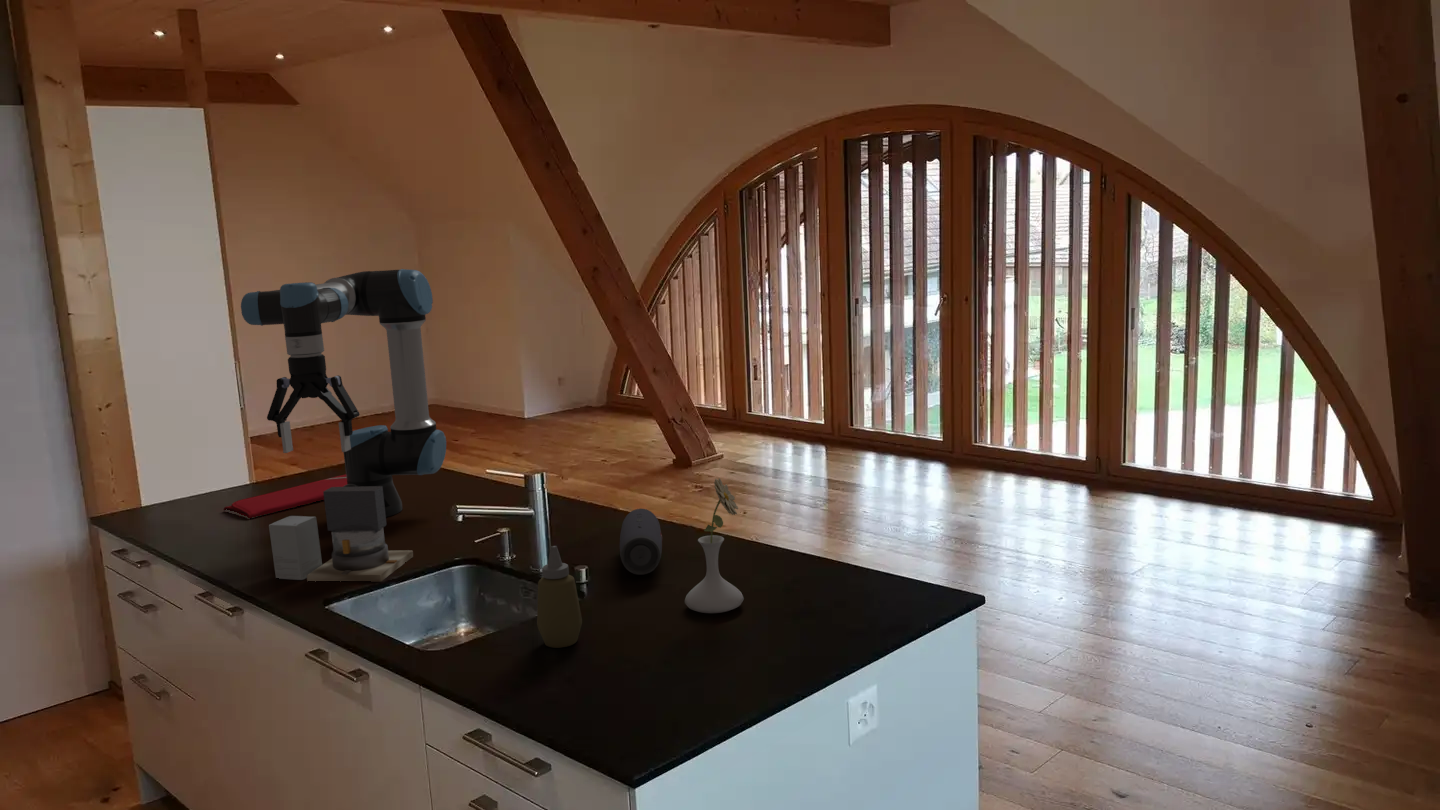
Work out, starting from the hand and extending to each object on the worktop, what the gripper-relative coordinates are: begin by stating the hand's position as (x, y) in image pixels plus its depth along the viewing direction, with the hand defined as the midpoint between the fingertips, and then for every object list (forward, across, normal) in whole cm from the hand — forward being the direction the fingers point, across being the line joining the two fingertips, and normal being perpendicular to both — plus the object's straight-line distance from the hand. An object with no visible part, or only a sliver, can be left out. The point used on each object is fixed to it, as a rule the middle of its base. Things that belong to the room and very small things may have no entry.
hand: (317, 451), depth 233 cm
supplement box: (+28, -7, 0) cm, 29 cm away
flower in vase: (+28, +90, -19) cm, 96 cm away
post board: (+28, +6, +3) cm, 29 cm away
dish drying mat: (+29, -42, +65) cm, 82 cm away
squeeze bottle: (+28, +64, -37) cm, 79 cm away
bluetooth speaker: (+28, +70, +7) cm, 75 cm away
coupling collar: (+23, +6, +3) cm, 24 cm away
